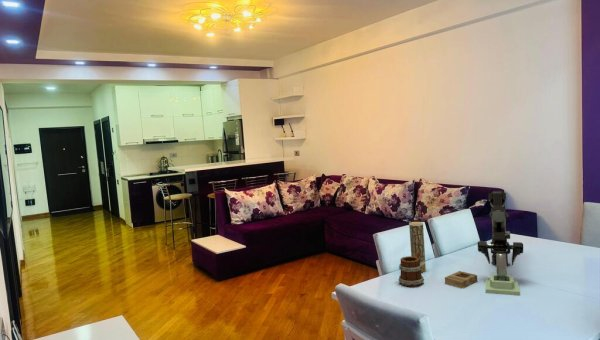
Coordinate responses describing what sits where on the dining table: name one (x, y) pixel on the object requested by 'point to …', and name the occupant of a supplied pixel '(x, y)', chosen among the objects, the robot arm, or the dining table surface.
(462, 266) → the dining table surface
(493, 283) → the socket stand
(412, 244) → the bark textured cylinder
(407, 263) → the mug
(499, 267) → the grey glass peg
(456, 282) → the wooden rectangular frame
